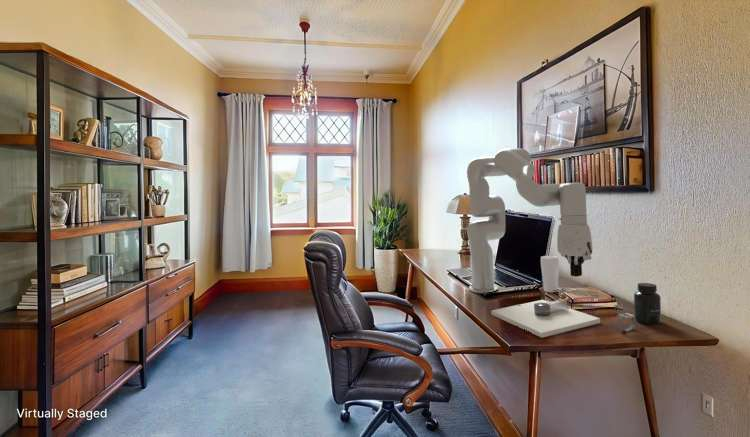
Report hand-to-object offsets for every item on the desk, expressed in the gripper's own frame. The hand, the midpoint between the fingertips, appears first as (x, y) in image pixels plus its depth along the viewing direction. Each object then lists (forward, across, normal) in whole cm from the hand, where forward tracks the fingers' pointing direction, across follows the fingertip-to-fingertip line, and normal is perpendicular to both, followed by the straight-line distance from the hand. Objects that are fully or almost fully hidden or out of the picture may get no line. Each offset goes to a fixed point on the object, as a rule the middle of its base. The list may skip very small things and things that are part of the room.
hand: (576, 275), depth 118 cm
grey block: (+13, -7, -4) cm, 16 cm away
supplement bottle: (+16, +11, +17) cm, 25 cm away
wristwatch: (+16, +13, +5) cm, 21 cm away
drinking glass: (+15, -29, +18) cm, 38 cm away
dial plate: (+15, -7, -8) cm, 19 cm away
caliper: (+16, -9, +16) cm, 24 cm away
